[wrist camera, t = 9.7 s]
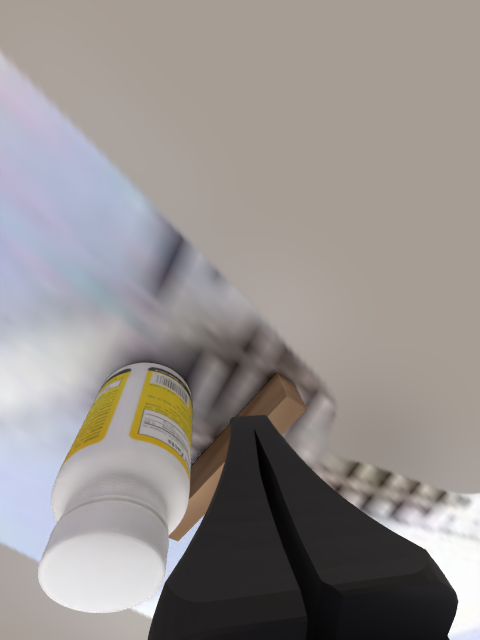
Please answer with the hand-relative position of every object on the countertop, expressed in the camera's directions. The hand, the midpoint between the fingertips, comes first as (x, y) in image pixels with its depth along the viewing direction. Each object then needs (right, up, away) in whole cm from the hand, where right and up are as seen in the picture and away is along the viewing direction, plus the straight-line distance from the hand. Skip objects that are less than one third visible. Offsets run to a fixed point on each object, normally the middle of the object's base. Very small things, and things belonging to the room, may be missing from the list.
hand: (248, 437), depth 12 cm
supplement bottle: (-6, 0, +8) cm, 10 cm away
